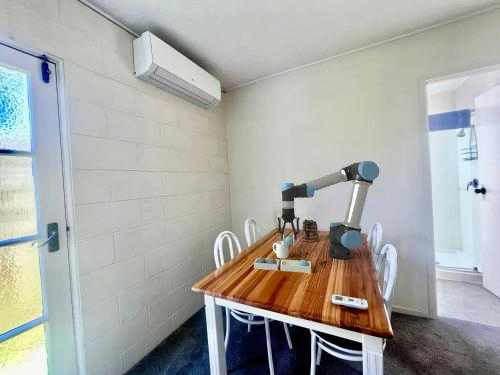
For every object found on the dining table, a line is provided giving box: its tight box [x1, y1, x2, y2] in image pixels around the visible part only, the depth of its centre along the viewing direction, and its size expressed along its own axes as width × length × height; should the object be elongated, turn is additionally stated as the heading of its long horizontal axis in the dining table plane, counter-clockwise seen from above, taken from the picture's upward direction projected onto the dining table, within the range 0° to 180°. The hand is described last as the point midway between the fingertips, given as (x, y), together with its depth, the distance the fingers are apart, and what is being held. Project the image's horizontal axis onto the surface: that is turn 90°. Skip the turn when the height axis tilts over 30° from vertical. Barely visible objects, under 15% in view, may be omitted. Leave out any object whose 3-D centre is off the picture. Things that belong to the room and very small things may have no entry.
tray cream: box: [279, 259, 312, 274], centre depth 121 cm, size 17×8×4 cm, turn 75°
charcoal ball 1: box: [257, 256, 266, 263], centre depth 126 cm, size 6×6×6 cm
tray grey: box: [253, 257, 280, 271], centre depth 125 cm, size 14×8×4 cm, turn 75°
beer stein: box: [301, 218, 320, 243], centre depth 177 cm, size 19×15×20 cm
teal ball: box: [284, 235, 293, 246], centre depth 127 cm, size 6×6×6 cm
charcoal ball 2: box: [267, 257, 276, 264], centre depth 125 cm, size 6×6×6 cm
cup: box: [272, 240, 289, 259], centre depth 143 cm, size 8×12×10 cm
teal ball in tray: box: [299, 259, 308, 266], centre depth 120 cm, size 6×6×6 cm
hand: (288, 244), depth 127 cm, fingers closed on teal ball, 5 cm apart
